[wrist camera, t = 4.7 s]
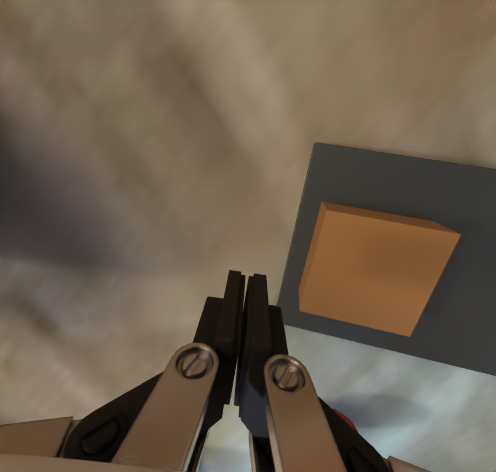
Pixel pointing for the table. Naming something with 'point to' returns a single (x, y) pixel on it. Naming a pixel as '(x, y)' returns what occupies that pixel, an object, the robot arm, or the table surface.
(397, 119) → the table surface
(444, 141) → the table surface
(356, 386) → the table surface
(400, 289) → the cardboard packet
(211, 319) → the robot arm
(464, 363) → the ramp
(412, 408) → the table surface
